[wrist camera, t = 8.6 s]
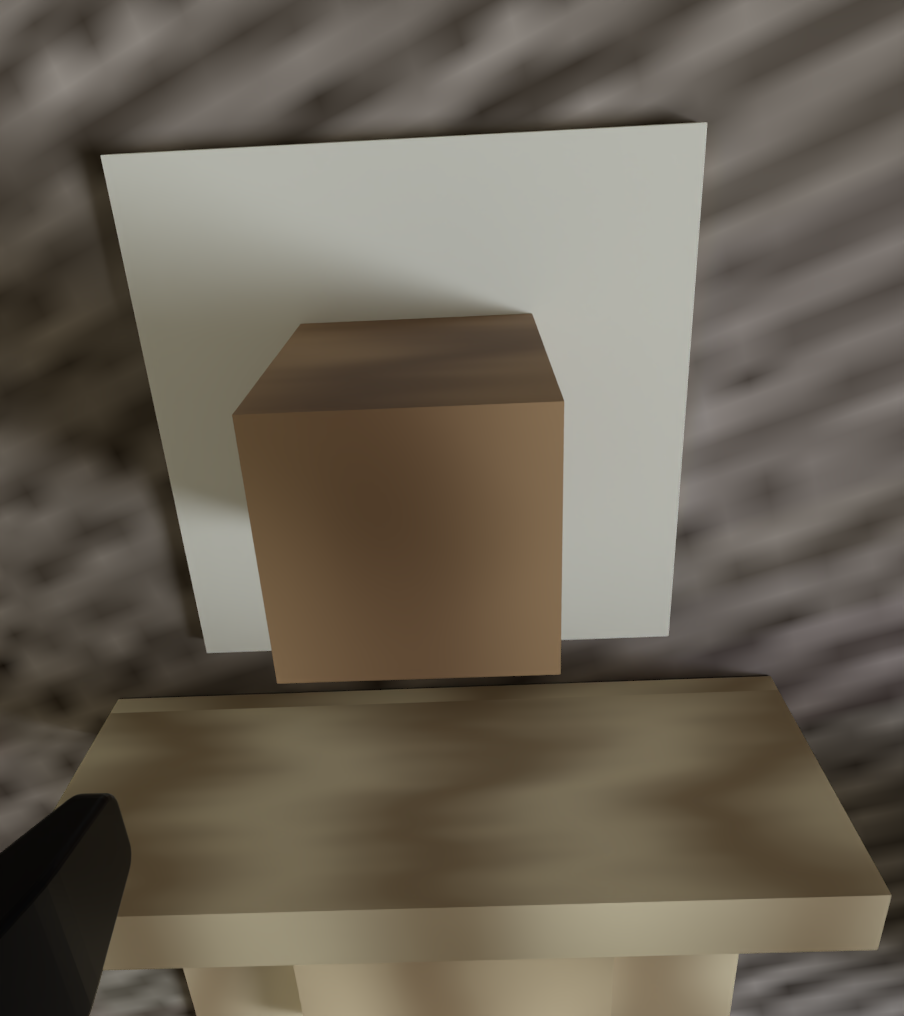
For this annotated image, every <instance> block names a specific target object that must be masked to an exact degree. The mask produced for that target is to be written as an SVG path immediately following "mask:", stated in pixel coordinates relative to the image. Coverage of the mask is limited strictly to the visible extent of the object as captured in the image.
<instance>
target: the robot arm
mask: <svg viewBox="0 0 904 1016" xmlns="http://www.w3.org/2000/svg"><path fill="white" fill-rule="evenodd" d="M131 856H132V852H131V845H130V841H129V837H128V834H127V831H126V827H125V824H124V821H123V817H122V814H121V810H120V807H119V804H118V801H117V799H116V798H115V797H114V796H113V795H112V794H109V793H85V794H77V795H75V796H73V797H71V798H70V799H68V800H67V801H65V802H64V803H63V804H62V805H60V806H59V807H58V808H57V809H55V810H54V811H53V812H52V813H50V814H49V815H48V816H47V817H45V818H44V819H43V820H41V821H40V822H39V823H38V824H36V825H35V826H34V827H33V828H31V829H30V830H29V831H28V832H26V833H25V834H24V835H23V836H21V837H20V838H19V839H17V840H16V841H15V842H14V843H12V844H11V845H10V846H9V847H7V848H6V849H5V850H4V851H2V852H1V853H0V1016H89V1015H90V1012H91V1009H92V1006H93V1003H94V999H95V996H96V993H97V989H98V986H99V982H100V978H101V975H102V971H103V967H104V964H105V960H106V956H107V952H108V949H109V945H110V941H111V938H112V934H113V930H114V926H115V923H116V919H117V915H118V912H119V908H120V904H121V900H122V897H123V893H124V889H125V886H126V882H127V878H128V874H129V871H130V866H131Z"/></svg>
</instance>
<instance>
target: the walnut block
mask: <svg viewBox="0 0 904 1016" xmlns="http://www.w3.org/2000/svg"><path fill="white" fill-rule="evenodd" d="M232 418H233V424H234V430H235V436H236V442H237V448H238V454H239V460H240V466H241V472H242V478H243V484H244V490H245V495H246V501H247V507H248V513H249V519H250V525H251V531H252V537H253V543H254V549H255V555H256V561H257V567H258V573H259V579H260V585H261V591H262V596H263V602H264V608H265V614H266V620H267V626H268V632H269V638H270V644H271V650H272V656H273V662H274V668H275V674H276V680H277V684H283V683H313V682H344V681H375V680H405V679H436V678H467V677H498V676H528V675H559V674H561V611H562V537H563V462H564V399H563V396H562V394H561V391H560V388H559V385H558V383H557V380H556V377H555V375H554V372H553V369H552V366H551V364H550V361H549V358H548V355H547V353H546V350H545V347H544V345H543V342H542V339H541V336H540V334H539V331H538V328H537V325H536V323H535V320H534V317H533V315H532V314H510V315H487V316H465V317H442V318H419V319H397V320H374V321H351V322H328V323H306V324H300V325H299V327H298V328H297V329H296V331H295V332H294V333H293V335H292V336H291V337H290V339H289V340H288V341H287V342H286V344H285V345H284V346H283V348H282V349H281V350H280V352H279V353H278V354H277V356H276V357H275V358H274V360H273V361H272V362H271V364H270V365H269V366H268V368H267V369H266V370H265V372H264V373H263V374H262V376H261V377H260V378H259V380H258V381H257V382H256V384H255V385H254V386H253V388H252V389H251V390H250V392H249V393H248V394H247V396H246V397H245V398H244V400H243V401H242V402H241V404H240V405H239V406H238V408H237V409H236V410H235V412H234V413H233V414H232Z"/></svg>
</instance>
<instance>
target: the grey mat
mask: <svg viewBox="0 0 904 1016" xmlns="http://www.w3.org/2000/svg"><path fill="white" fill-rule="evenodd" d="M706 134H707V122H694V123H675V124H657V125H638V126H620V127H601V128H583V129H565V130H546V131H528V132H509V133H491V134H472V135H454V136H435V137H417V138H398V139H380V140H361V141H343V142H324V143H306V144H287V145H269V146H250V147H232V148H213V149H195V150H176V151H158V152H139V153H121V154H107V155H100V156H101V161H102V165H103V170H104V175H105V179H106V184H107V189H108V193H109V198H110V203H111V207H112V212H113V217H114V221H115V226H116V231H117V235H118V240H119V245H120V249H121V254H122V259H123V263H124V268H125V273H126V277H127V282H128V287H129V291H130V296H131V301H132V305H133V310H134V315H135V320H136V324H137V329H138V334H139V338H140V343H141V348H142V352H143V357H144V362H145V366H146V371H147V376H148V380H149V385H150V390H151V394H152V399H153V404H154V408H155V413H156V418H157V422H158V427H159V432H160V436H161V441H162V446H163V450H164V455H165V460H166V464H167V469H168V474H169V478H170V483H171V488H172V492H173V497H174V502H175V506H176V511H177V516H178V520H179V525H180V530H181V534H182V539H183V544H184V548H185V553H186V558H187V562H188V567H189V572H190V576H191V581H192V586H193V590H194V595H195V600H196V604H197V609H198V614H199V619H200V623H201V628H202V633H203V637H204V642H205V647H206V651H207V653H224V652H251V651H272V650H271V644H270V638H269V632H268V626H267V620H266V614H265V608H264V602H263V596H262V591H261V585H260V579H259V573H258V567H257V561H256V555H255V549H254V543H253V537H252V531H251V525H250V519H249V513H248V507H247V501H246V495H245V490H244V484H243V478H242V472H241V466H240V460H239V454H238V448H237V442H236V436H235V430H234V424H233V418H232V414H233V413H234V412H235V410H236V409H237V408H238V406H239V405H240V404H241V402H242V401H243V400H244V398H245V397H246V396H247V394H248V393H249V392H250V390H251V389H252V388H253V386H254V385H255V384H256V382H257V381H258V380H259V378H260V377H261V376H262V374H263V373H264V372H265V370H266V369H267V368H268V366H269V365H270V364H271V362H272V361H273V360H274V358H275V357H276V356H277V354H278V353H279V352H280V350H281V349H282V348H283V346H284V345H285V344H286V342H287V341H288V340H289V339H290V337H291V336H292V335H293V333H294V332H295V331H296V329H297V328H298V327H299V325H300V324H306V323H328V322H351V321H374V320H397V319H419V318H442V317H465V316H487V315H510V314H532V315H533V317H534V320H535V323H536V325H537V328H538V331H539V334H540V336H541V339H542V342H543V345H544V347H545V350H546V353H547V355H548V358H549V361H550V364H551V366H552V369H553V372H554V375H555V377H556V380H557V383H558V385H559V388H560V391H561V394H562V396H563V399H564V462H563V537H562V611H561V640H577V639H604V638H631V637H658V636H669V623H670V610H671V597H672V584H673V571H674V557H675V544H676V531H677V518H678V504H679V491H680V478H681V465H682V452H683V438H684V425H685V412H686V399H687V385H688V372H689V359H690V346H691V332H692V319H693V306H694V293H695V280H696V266H697V253H698V240H699V227H700V213H701V200H702V187H703V174H704V160H705V147H706Z"/></svg>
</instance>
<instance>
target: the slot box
mask: <svg viewBox="0 0 904 1016" xmlns="http://www.w3.org/2000/svg"><path fill="white" fill-rule="evenodd" d="M85 793H109V794H112V795H113V796H114V797H115V798H116V799H117V801H118V804H119V807H120V810H121V814H122V817H123V821H124V824H125V827H126V831H127V834H128V837H129V841H130V845H131V852H132V856H131V866H130V871H129V874H128V878H127V882H126V886H125V889H124V893H123V897H122V900H121V904H120V908H119V912H118V915H117V919H116V923H115V926H114V930H113V934H112V938H111V941H110V945H109V949H108V952H107V956H106V960H105V964H104V967H103V970H132V969H170V968H183V970H184V974H185V977H186V981H187V984H188V988H189V991H190V995H191V998H192V1002H193V1005H194V1009H195V1012H196V1016H730V1009H731V1003H732V996H733V989H734V982H735V976H736V969H737V962H738V956H739V954H743V953H782V952H820V951H858V950H878V947H879V943H880V939H881V935H882V931H883V927H884V923H885V919H886V915H887V912H888V908H889V904H890V900H891V896H892V895H891V893H890V891H889V889H888V888H887V886H886V884H885V882H884V880H883V879H882V877H881V875H880V873H879V871H878V870H877V868H876V866H875V864H874V862H873V861H872V859H871V857H870V855H869V853H868V852H867V850H866V848H865V846H864V844H863V843H862V841H861V839H860V837H859V835H858V834H857V832H856V830H855V828H854V826H853V824H852V823H851V821H850V819H849V817H848V815H847V814H846V812H845V810H844V808H843V806H842V805H841V803H840V801H839V799H838V797H837V796H836V794H835V792H834V790H833V788H832V787H831V785H830V783H829V781H828V779H827V778H826V776H825V774H824V772H823V770H822V768H821V767H820V765H819V763H818V761H817V759H816V758H815V756H814V754H813V752H812V750H811V749H810V747H809V745H808V743H807V741H806V740H805V738H804V736H803V734H802V732H801V731H800V729H799V727H798V725H797V723H796V722H795V720H794V718H793V716H792V714H791V713H790V711H789V709H788V707H787V705H786V703H785V702H784V700H783V698H782V696H781V694H780V693H779V691H778V689H777V687H776V685H775V684H774V682H773V680H772V678H771V676H759V677H731V678H703V679H674V680H646V681H618V682H590V683H562V684H533V685H505V686H477V687H449V688H420V689H392V690H364V691H336V692H308V693H279V694H251V695H223V696H195V697H166V698H138V699H118V701H117V702H116V704H115V706H114V708H113V709H112V711H111V713H110V714H109V716H108V718H107V720H106V721H105V723H104V725H103V726H102V728H101V730H100V732H99V733H98V735H97V737H96V738H95V740H94V742H93V744H92V745H91V747H90V749H89V751H88V752H87V754H86V756H85V757H84V759H83V761H82V763H81V764H80V766H79V768H78V769H77V771H76V773H75V775H74V776H73V778H72V780H71V781H70V783H69V785H68V787H67V788H66V790H65V792H64V794H63V795H62V797H61V799H60V800H59V802H58V804H57V806H56V807H55V809H57V808H58V807H59V806H60V805H62V804H63V803H64V802H65V801H67V800H68V799H70V798H71V797H73V796H75V795H77V794H85ZM55 809H54V810H55Z"/></svg>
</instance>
